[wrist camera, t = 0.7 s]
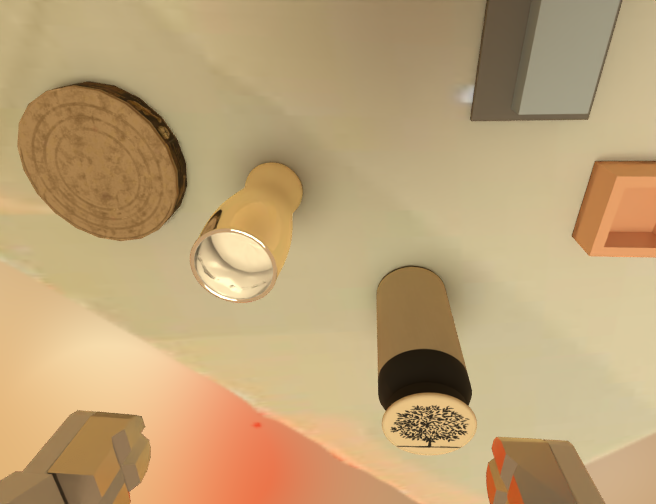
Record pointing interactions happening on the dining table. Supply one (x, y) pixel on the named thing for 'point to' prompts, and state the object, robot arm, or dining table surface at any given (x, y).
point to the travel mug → (421, 366)
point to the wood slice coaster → (102, 160)
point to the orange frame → (619, 210)
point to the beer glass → (248, 236)
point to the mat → (508, 63)
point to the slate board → (562, 55)
